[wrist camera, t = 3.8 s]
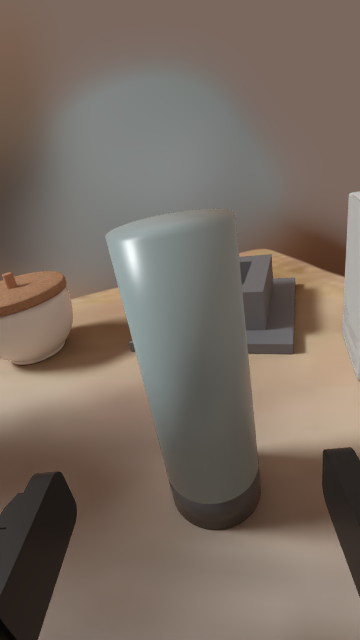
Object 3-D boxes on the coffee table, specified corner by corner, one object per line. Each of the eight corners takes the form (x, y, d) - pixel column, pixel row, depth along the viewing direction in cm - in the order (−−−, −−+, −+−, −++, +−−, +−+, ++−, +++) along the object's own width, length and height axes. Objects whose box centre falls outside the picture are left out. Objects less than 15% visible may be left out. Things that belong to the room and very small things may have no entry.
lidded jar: (-13, 350, 42) (-48, 279, 38) (72, 319, 46) (49, 252, 42) (-9, 392, 33) (-54, 304, 29) (96, 349, 37) (69, 267, 33)
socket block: (130, 351, 35) (118, 308, 33) (177, 290, 49) (170, 256, 47) (293, 354, 30) (291, 302, 28) (295, 284, 43) (294, 246, 41)
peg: (161, 519, 18) (80, 246, 12) (186, 447, 23) (137, 216, 16) (255, 538, 17) (220, 232, 10) (264, 456, 21) (243, 203, 14)
